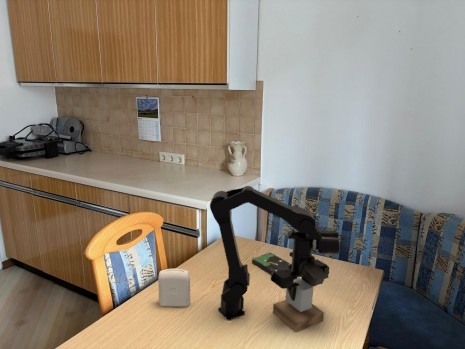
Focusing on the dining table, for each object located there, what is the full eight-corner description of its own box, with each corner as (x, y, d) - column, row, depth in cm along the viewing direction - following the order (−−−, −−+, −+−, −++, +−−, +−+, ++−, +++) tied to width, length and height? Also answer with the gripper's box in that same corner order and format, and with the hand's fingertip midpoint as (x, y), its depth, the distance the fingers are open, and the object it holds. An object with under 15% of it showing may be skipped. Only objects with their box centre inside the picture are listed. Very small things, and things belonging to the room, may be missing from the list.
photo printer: (157, 307, 115) (156, 272, 112) (160, 299, 119) (159, 265, 116) (189, 308, 115) (189, 273, 112) (191, 300, 119) (191, 266, 116)
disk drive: (295, 272, 140) (269, 257, 152) (295, 265, 140) (270, 251, 151) (275, 279, 134) (251, 264, 146) (276, 273, 134) (251, 257, 145)
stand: (295, 332, 104) (296, 323, 104) (272, 312, 113) (273, 304, 113) (322, 320, 110) (323, 312, 109) (299, 302, 119) (299, 294, 118)
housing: (285, 300, 112) (286, 280, 111) (296, 296, 115) (297, 276, 113) (300, 312, 106) (302, 291, 105) (311, 307, 109) (313, 287, 107)
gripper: (296, 270, 95) (292, 321, 99) (344, 255, 105) (339, 302, 108) (271, 254, 104) (268, 301, 108) (317, 241, 114) (313, 285, 117)
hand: (298, 298), depth 110 cm, fingers closed on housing, 4 cm apart
